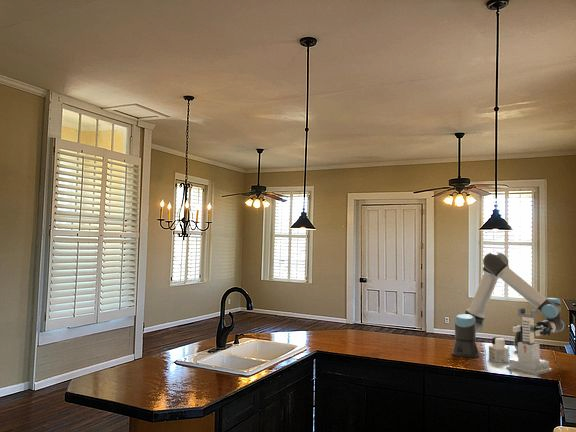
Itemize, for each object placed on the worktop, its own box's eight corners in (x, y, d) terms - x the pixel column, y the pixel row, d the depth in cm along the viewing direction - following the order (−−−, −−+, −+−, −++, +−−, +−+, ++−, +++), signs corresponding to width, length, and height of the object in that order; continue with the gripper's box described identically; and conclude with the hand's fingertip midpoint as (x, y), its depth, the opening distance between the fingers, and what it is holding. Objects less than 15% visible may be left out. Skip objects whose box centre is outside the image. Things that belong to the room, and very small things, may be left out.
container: (488, 358, 266) (488, 336, 267) (501, 358, 267) (501, 336, 268) (495, 362, 259) (495, 339, 259) (509, 362, 259) (508, 339, 260)
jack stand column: (519, 365, 246) (518, 308, 248) (524, 364, 249) (522, 307, 251) (534, 369, 240) (532, 310, 241) (539, 367, 242) (537, 309, 244)
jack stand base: (506, 368, 246) (505, 339, 247) (522, 364, 255) (521, 336, 256) (536, 375, 233) (535, 345, 234) (552, 370, 242) (551, 341, 243)
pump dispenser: (528, 349, 290) (527, 325, 291) (535, 353, 280) (534, 328, 281) (511, 349, 291) (510, 325, 292) (517, 353, 281) (517, 328, 282)
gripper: (568, 338, 246) (547, 342, 233) (524, 330, 265) (503, 334, 253) (567, 324, 246) (547, 328, 234) (523, 317, 265) (503, 321, 253)
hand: (524, 331), depth 243 cm, fingers open, 11 cm apart
